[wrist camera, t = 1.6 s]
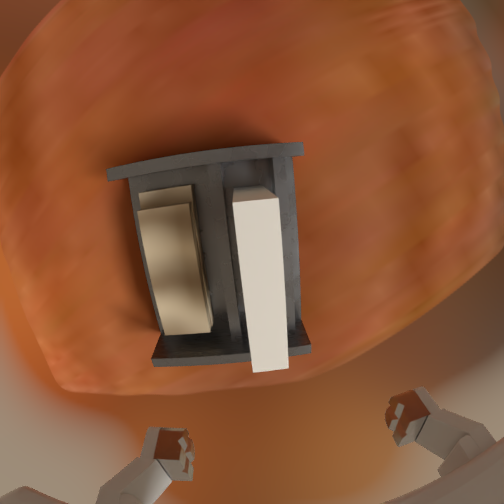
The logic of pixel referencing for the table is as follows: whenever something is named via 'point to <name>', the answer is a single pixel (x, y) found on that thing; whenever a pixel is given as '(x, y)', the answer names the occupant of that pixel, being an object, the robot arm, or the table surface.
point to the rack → (224, 243)
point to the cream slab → (262, 275)
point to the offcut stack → (176, 259)
